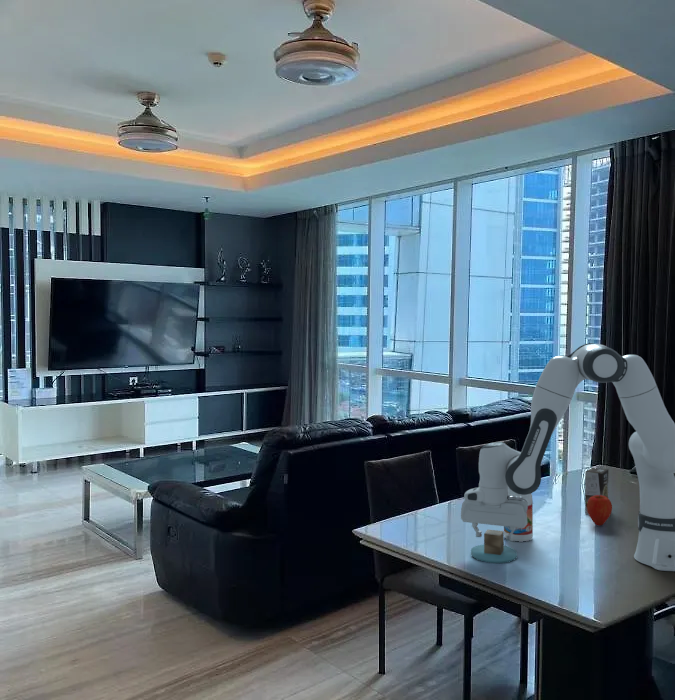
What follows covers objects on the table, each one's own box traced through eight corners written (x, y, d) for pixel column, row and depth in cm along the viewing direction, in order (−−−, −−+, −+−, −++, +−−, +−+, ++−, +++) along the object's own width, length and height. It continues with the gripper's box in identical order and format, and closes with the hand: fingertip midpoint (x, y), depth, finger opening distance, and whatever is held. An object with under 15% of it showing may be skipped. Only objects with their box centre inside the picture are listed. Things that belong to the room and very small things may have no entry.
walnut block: (503, 550, 214) (503, 531, 214) (500, 555, 210) (500, 535, 210) (487, 548, 216) (487, 529, 216) (484, 553, 212) (484, 533, 212)
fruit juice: (534, 535, 232) (534, 453, 231) (530, 543, 223) (529, 459, 222) (506, 532, 236) (506, 452, 235) (501, 540, 227) (500, 457, 226)
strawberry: (614, 529, 237) (614, 498, 237) (588, 528, 239) (588, 497, 239) (609, 522, 246) (609, 492, 245) (585, 521, 247) (585, 491, 247)
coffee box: (602, 516, 253) (602, 473, 252) (584, 513, 257) (584, 471, 256) (609, 510, 260) (609, 468, 260) (592, 508, 264) (591, 467, 264)
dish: (520, 551, 217) (520, 547, 217) (512, 565, 204) (512, 561, 204) (476, 545, 222) (476, 542, 222) (466, 559, 210) (466, 555, 210)
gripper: (529, 495, 211) (529, 539, 211) (464, 489, 219) (464, 532, 220) (526, 500, 205) (526, 545, 206) (459, 494, 214) (459, 537, 214)
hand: (493, 538), depth 213 cm, fingers open, 8 cm apart
